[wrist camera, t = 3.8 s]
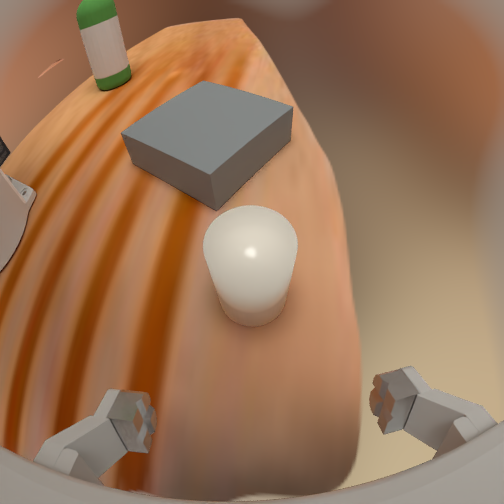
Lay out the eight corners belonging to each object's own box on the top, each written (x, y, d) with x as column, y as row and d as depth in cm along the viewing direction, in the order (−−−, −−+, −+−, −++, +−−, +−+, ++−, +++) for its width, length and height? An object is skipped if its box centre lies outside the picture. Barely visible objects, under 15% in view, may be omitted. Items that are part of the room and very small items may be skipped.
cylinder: (206, 301, 23) (184, 251, 17) (245, 254, 26) (241, 192, 19) (260, 339, 22) (261, 304, 15) (298, 287, 24) (314, 233, 17)
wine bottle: (134, 71, 50) (110, -44, 24) (130, 84, 46) (101, -45, 20) (102, 81, 49) (72, -29, 23) (95, 96, 45) (59, -28, 19)
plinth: (133, 163, 33) (120, 132, 28) (207, 109, 38) (203, 80, 34) (216, 211, 28) (209, 174, 24) (290, 140, 34) (293, 106, 29)
